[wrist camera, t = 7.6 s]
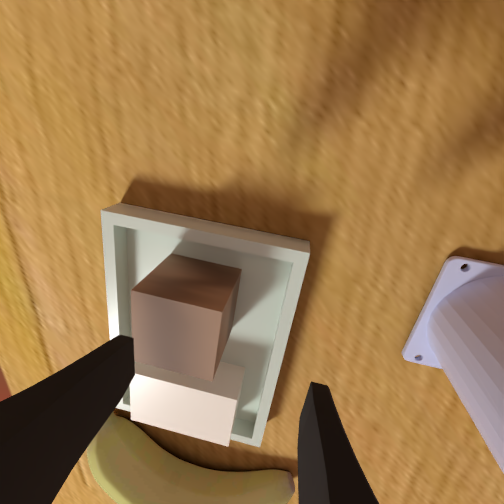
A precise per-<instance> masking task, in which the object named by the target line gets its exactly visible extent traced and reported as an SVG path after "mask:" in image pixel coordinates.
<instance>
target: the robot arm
mask: <svg viewBox="0 0 504 504" xmlns="http://www.w3.org/2000/svg"><path fill="white" fill-rule="evenodd" d="M464 264H467V266H466V268H464V269H461V266H462V265H464ZM402 355H403V357H404V359H405V360H407V361H410V362H414V363H419V364H423V365H427V366H431V367H436V368H440V369H443V370H444V372H445V373H446V375H447V377H448V378H449V380H450V382H451V384H452V385H453V387H454V389H455V391H456V392H457V394H458V396H459V397H460V399H461V401H462V403H463V404H464V406H465V408H466V410H467V411H468V413H469V415H470V417H471V418H472V420H473V422H474V423H475V425H476V427H477V429H478V430H479V432H480V434H481V436H482V437H483V439H484V441H485V443H486V444H487V446H488V448H489V449H490V451H491V453H492V455H493V456H494V458H495V460H496V462H497V463H498V465H499V467H500V468H501V470H502V472H503V474H504V265H501V264H495V263H490V262H485V261H480V260H475V259H470V258H465V257H460V256H452V257H450V258H448V259H447V260H446V261H445V263H444V265H443V267H442V269H441V271H440V273H439V276H438V278H437V280H436V282H435V284H434V286H433V288H432V290H431V292H430V294H429V296H428V298H427V300H426V303H425V305H424V307H423V309H422V311H421V313H420V315H419V317H418V319H417V321H416V323H415V325H414V327H413V330H412V332H411V334H410V336H409V338H408V340H407V342H406V344H405V346H404V348H403V350H402ZM416 355H420V356H418V357H415V356H416ZM134 376H135V360H134V338H132V337H128V336H124V335H118V336H116V337H114V338H113V339H111V340H110V341H108V342H106V343H105V344H103V345H101V346H100V347H98V348H97V349H95V350H93V351H92V352H90V353H89V354H87V355H85V356H84V357H82V358H80V359H79V360H77V361H75V362H74V363H72V364H70V365H69V366H67V367H65V368H64V369H62V370H60V371H58V372H57V373H55V374H53V375H51V376H49V377H47V378H46V379H44V380H42V381H40V382H38V383H37V384H35V385H33V386H31V387H29V388H27V389H25V390H23V391H21V392H19V393H17V394H15V395H13V396H11V397H9V398H7V399H5V400H3V401H1V402H0V504H52V502H53V500H54V499H55V497H56V495H57V494H58V492H59V490H60V489H61V487H62V485H63V484H64V482H65V480H66V479H67V477H68V475H69V474H70V472H71V470H72V469H73V467H74V466H75V464H76V463H77V461H78V460H79V458H80V457H81V455H82V454H83V453H84V451H85V450H86V448H87V447H88V446H89V444H90V443H91V441H92V440H93V439H94V437H95V436H96V434H97V433H98V432H99V430H100V429H101V428H102V426H103V425H104V423H105V422H106V421H107V419H108V418H109V416H110V415H111V413H112V412H113V411H114V409H115V408H116V406H117V405H118V404H119V402H120V401H121V399H122V397H123V396H124V394H125V392H126V390H127V389H128V387H129V385H130V383H131V381H132V379H133V378H134ZM298 491H299V504H379V502H378V501H377V499H376V497H375V495H374V493H373V491H372V489H371V487H370V485H369V483H368V481H367V479H366V477H365V475H364V473H363V471H362V469H361V467H360V465H359V463H358V460H357V458H356V456H355V454H354V452H353V449H352V447H351V445H350V442H349V440H348V438H347V435H346V433H345V430H344V428H343V425H342V423H341V420H340V418H339V415H338V412H337V410H336V407H335V404H334V401H333V398H332V395H331V392H330V389H329V387H328V386H327V385H323V384H319V383H315V382H311V383H310V387H309V390H308V393H307V396H306V399H305V403H304V406H303V409H302V412H301V415H300V421H299V434H298Z"/></svg>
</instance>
